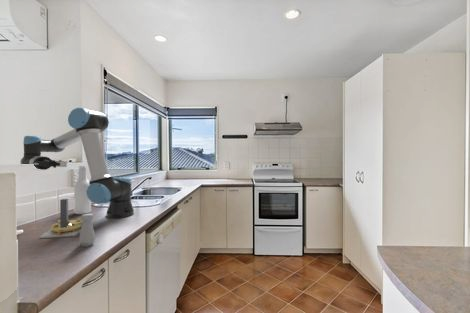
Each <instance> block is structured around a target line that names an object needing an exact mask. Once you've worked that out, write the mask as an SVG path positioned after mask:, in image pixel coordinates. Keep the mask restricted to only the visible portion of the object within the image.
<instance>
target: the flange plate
mask: <svg viewBox="0 0 470 313" xmlns="http://www.w3.org/2000/svg"><path fill="white" fill-rule="evenodd" d="M80 232H81V228H80V229H77V230H73V231H68V232H51V229H49V230H48V231H46V232H44V233H43V234H41V235H39V239H49V238H50V239H51V238H52V239H53V238H64V237H66V238H67V237H77V236H78V235H80Z"/></svg>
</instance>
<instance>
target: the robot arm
mask: <svg viewBox="0 0 470 313" xmlns="http://www.w3.org/2000/svg"><path fill="white" fill-rule="evenodd" d="M67 117H68V118H67V123H68V125H69V126H70V127H71V128H73V129H72V130H69V131H67V132H65V133H63V134H61V135H59V136H57V137H55V138H52V139H42V138H41V136H39V135H38V136H37V135H25V136H24V137H23V157H21V159H20V165H21V164H34V166H35V167H36V168H37V169H40V170H42V171H45V170H46V171H47V170H49V169H50V168H52V167H53V168H54V169H55V168H57V167H58V168H67V164H68V163H67V161H63V160H61V159H59V160H53V159H51V158H50V157H49V156H43V155H41V154H42V153H60V152H63V151H65V148H66V147H68V146H70V145H73V144H75V143H77V142H79V141H81V142H82V146H83V150H84V155H85V157H86V162H87V166H88V170H89V174H90V180H88V181H89V184H90V185H89V186H88V188H87V191H86V193H87V197H88V199H89V200H90V201H91V203H94V204H97V205H100V204H101V205H102V204H107V203H109V205H108V207H107V211H106V217H107V218H112V219H116V218H117V219H119V218H125V217H130V216H132V215H134V213H135V210H134V206H133V204H132V179H131V178H129V177H114V176H112V175H111V174H110V173H109V169H108V166H107V161H106V157H105V154H104V151H103V146H102V143H101V138H100V135H99V134H100V133H102V132H104V131H105V130H106V129H107V128H108V127H109V124H110V121H109V118H108V117H107V115H106V114H104V113H103V112H100V111H97V110H92V109H88V108H86V107H76V108H74V109H72V110H71V111H70V113H69V114H68V116H67ZM37 169H36V170H37Z"/></svg>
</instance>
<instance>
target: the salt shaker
mask: <svg viewBox="0 0 470 313" xmlns="http://www.w3.org/2000/svg"><path fill="white" fill-rule="evenodd" d="M80 218H81V220H82V221H83V222H82V227H81V232H80V233H79V238H78V243H79V245H80V247H82V248H86V247H91V246H93V245H94V242H95V240H96V234H95V230H94V226H93V221H92V220H93V219H94V214H93V213H91V212H89V213H87V214H81V216H80Z"/></svg>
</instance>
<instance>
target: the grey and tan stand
mask: <svg viewBox="0 0 470 313" xmlns="http://www.w3.org/2000/svg"><path fill="white" fill-rule="evenodd" d="M59 207H60V208H59V209H60V210H59V211H60V213H59V215H60V217H59V219H58V220H57V222H55V223H53V224H51V225H50V230H51V232H68V231H73V230H77V229H80V228H81V227H82V222H83V221H82V220H81V217H78V218H76V219H69V198H61V199H60V206H59Z"/></svg>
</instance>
